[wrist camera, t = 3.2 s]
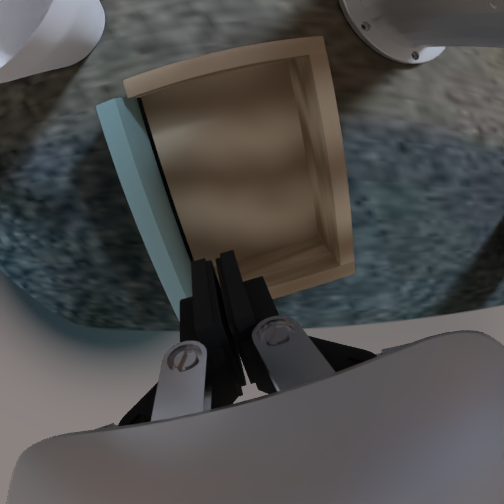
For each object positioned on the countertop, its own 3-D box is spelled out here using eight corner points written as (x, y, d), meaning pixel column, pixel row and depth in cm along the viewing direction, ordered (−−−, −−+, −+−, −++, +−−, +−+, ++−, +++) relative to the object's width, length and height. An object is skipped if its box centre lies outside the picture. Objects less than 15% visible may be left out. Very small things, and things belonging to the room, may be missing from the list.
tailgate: (122, 101, 21) (95, 106, 15) (136, 96, 21) (114, 98, 15) (182, 275, 29) (181, 326, 23) (194, 272, 29) (197, 322, 23)
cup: (18, 89, 18) (-75, 103, 8) (29, -6, 14) (-50, -39, 4) (114, 76, 20) (51, 66, 10) (127, -25, 16) (86, -93, 6)
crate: (139, 83, 21) (122, 80, 16) (294, 46, 21) (322, 35, 16) (201, 276, 30) (205, 317, 25) (328, 240, 30) (354, 273, 25)
